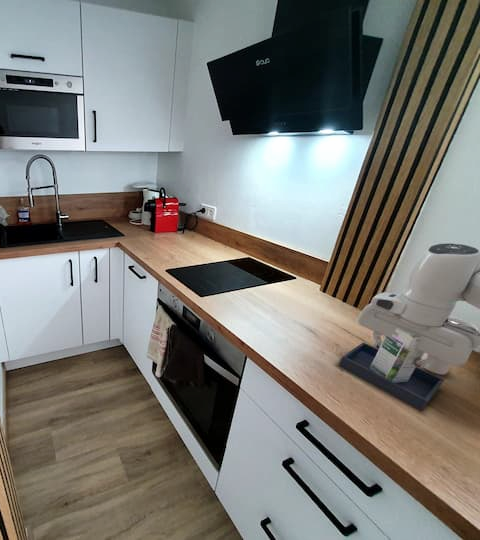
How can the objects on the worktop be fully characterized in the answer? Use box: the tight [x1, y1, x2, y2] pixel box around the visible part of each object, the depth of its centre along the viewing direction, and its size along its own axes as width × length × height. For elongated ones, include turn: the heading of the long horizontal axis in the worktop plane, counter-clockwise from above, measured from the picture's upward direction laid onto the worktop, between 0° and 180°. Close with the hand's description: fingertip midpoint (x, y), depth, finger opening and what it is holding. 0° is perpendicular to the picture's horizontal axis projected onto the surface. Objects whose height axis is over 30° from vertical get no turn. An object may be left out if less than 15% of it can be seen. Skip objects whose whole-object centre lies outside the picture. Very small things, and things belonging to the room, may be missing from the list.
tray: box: [338, 341, 445, 412], centre depth 75 cm, size 17×13×3 cm
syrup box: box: [370, 328, 424, 383], centre depth 73 cm, size 6×6×14 cm
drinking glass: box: [421, 316, 479, 375], centre depth 76 cm, size 7×7×15 cm
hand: (397, 356), depth 73 cm, fingers closed on syrup box, 7 cm apart
